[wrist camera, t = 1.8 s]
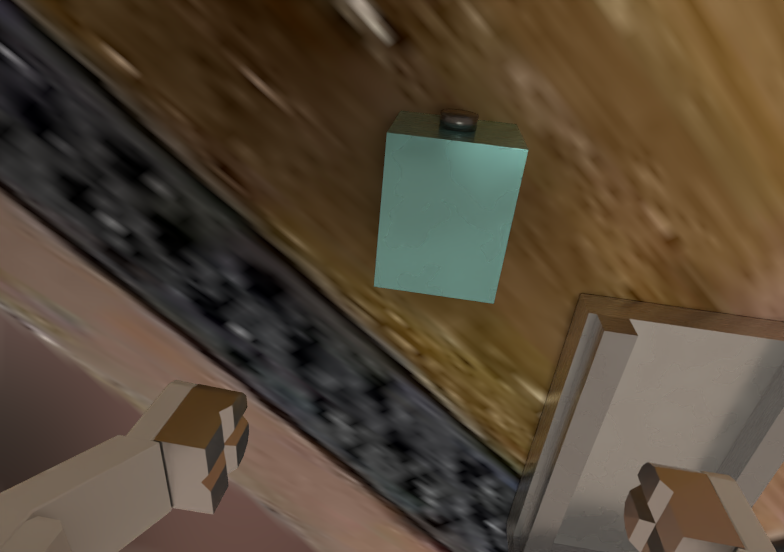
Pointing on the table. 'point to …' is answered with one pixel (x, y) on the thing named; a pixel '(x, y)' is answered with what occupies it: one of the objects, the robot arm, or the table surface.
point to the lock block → (447, 203)
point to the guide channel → (647, 416)
